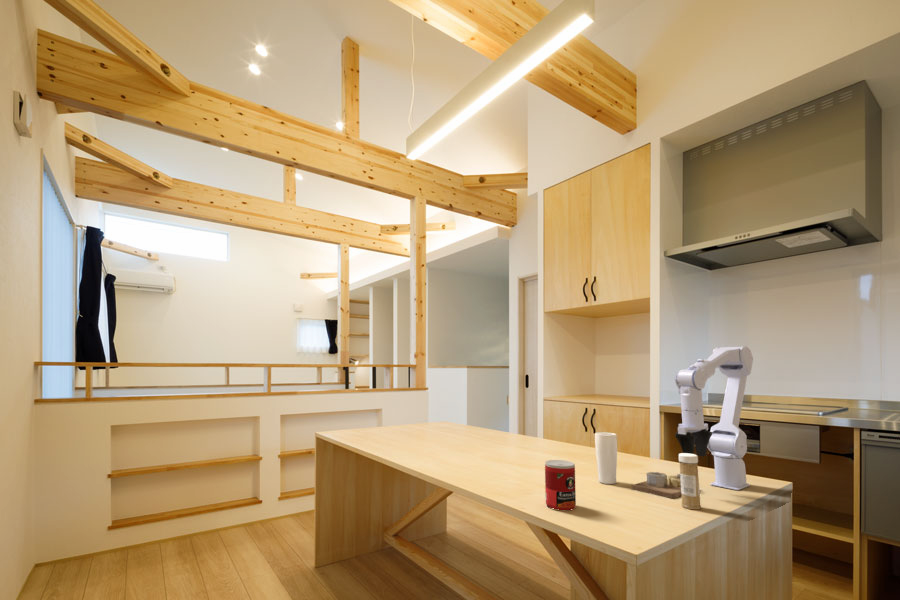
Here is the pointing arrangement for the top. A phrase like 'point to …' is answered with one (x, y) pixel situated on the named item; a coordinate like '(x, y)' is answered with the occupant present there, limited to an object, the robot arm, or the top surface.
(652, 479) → the loose gear
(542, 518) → the top surface
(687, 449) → the robot arm
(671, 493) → the gear board
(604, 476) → the drinking glass
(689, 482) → the sprinkles bottle
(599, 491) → the top surface
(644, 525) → the top surface
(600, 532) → the top surface
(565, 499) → the canned food
